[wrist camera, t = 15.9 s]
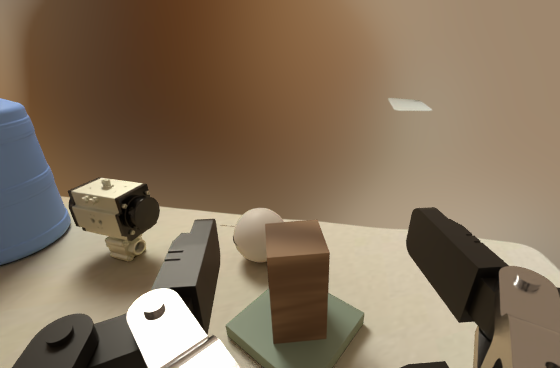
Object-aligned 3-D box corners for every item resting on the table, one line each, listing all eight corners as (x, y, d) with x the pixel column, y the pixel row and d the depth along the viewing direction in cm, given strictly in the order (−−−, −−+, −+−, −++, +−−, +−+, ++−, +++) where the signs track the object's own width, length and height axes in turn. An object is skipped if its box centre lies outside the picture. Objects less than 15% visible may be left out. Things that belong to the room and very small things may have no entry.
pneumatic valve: (113, 237, 46) (89, 169, 41) (171, 251, 43) (153, 177, 38) (81, 259, 42) (50, 184, 37) (143, 276, 38) (118, 195, 33)
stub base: (306, 405, 23) (305, 341, 20) (227, 335, 29) (217, 278, 26) (363, 323, 30) (369, 266, 27) (289, 280, 36) (287, 229, 33)
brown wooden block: (326, 338, 27) (329, 252, 23) (273, 344, 27) (266, 257, 22) (316, 297, 31) (317, 219, 27) (270, 301, 31) (264, 223, 27)
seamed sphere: (297, 249, 42) (296, 205, 39) (268, 281, 36) (264, 233, 33) (244, 230, 47) (240, 190, 44) (211, 256, 41) (203, 212, 38)
